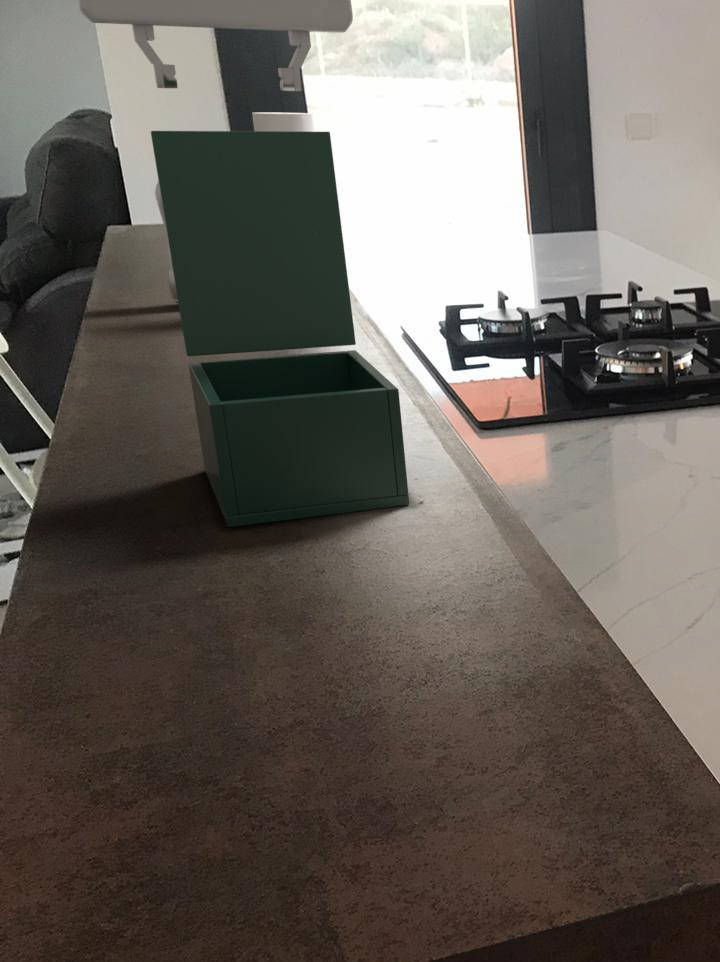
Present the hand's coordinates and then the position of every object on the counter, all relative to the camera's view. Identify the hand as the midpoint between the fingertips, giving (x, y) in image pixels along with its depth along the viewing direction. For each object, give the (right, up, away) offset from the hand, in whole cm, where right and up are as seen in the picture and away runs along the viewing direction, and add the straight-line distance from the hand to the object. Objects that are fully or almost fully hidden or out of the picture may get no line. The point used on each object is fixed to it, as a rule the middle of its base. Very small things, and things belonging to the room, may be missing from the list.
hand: (230, 89), depth 105 cm
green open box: (+8, -33, -6) cm, 35 cm away
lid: (+5, -14, -6) cm, 16 cm away
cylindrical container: (-19, -4, +66) cm, 69 cm away
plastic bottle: (-35, -2, +69) cm, 77 cm away
